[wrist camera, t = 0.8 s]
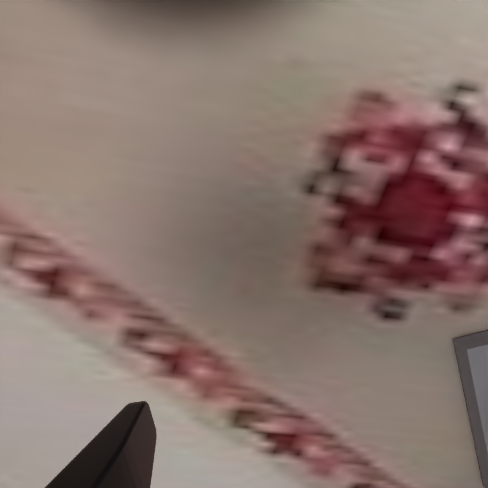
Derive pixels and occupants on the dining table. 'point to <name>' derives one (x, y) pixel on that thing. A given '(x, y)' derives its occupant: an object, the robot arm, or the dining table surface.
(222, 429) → the dining table surface
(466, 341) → the mat
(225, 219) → the dining table surface
